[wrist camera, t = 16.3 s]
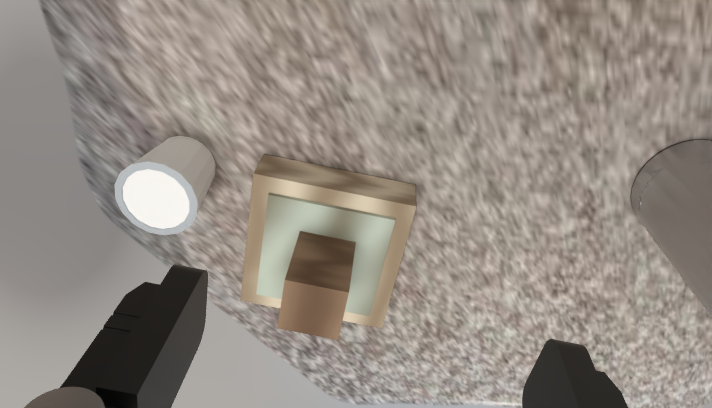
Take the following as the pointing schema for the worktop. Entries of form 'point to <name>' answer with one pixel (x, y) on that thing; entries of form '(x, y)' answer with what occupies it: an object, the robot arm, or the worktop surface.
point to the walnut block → (317, 285)
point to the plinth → (327, 230)
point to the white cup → (166, 185)
